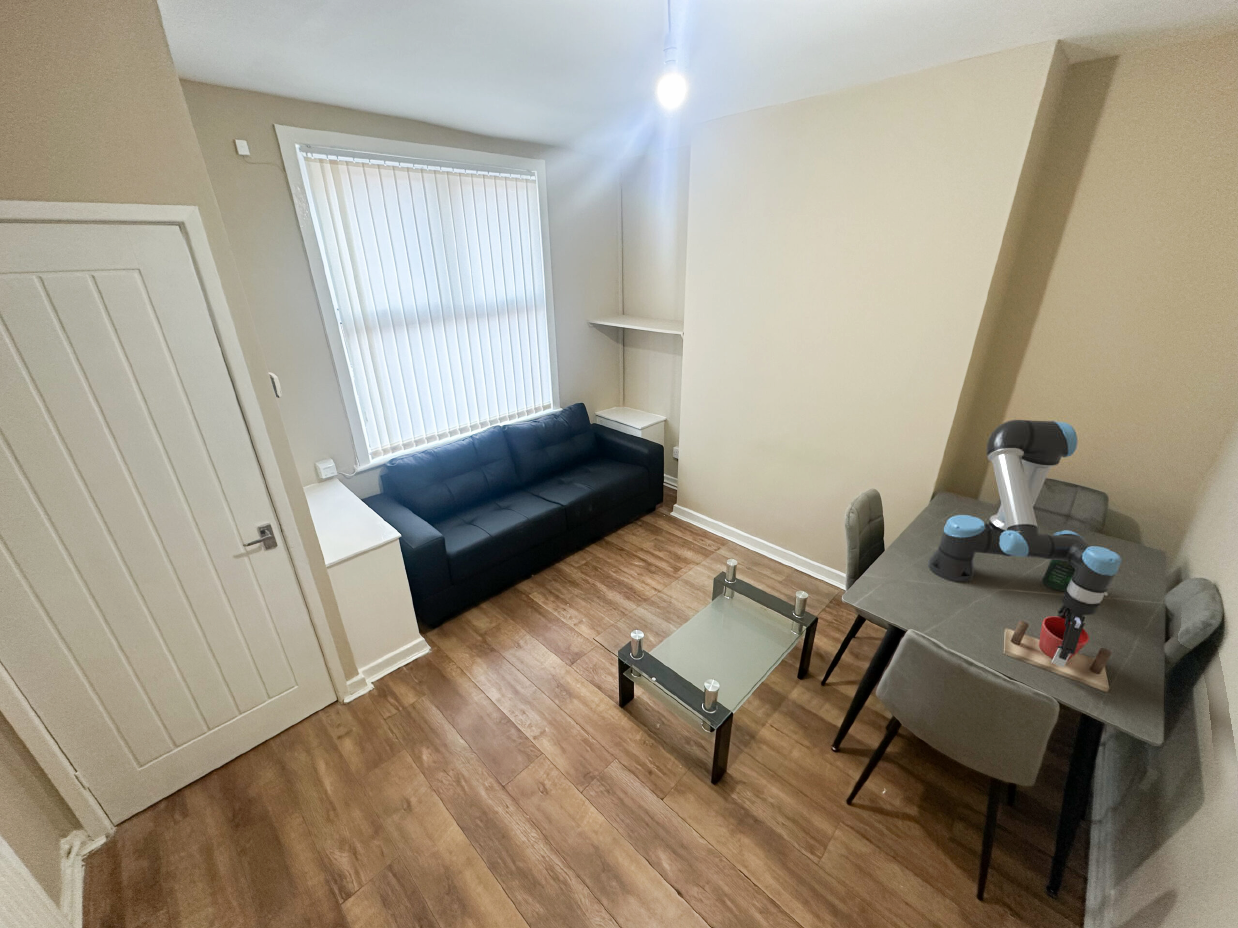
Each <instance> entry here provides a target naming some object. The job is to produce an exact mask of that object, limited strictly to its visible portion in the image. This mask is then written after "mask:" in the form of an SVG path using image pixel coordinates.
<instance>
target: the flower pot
mask: <svg viewBox="0 0 1238 928" xmlns="http://www.w3.org/2000/svg"><path fill="white" fill-rule="evenodd" d="M1057 616H1058V615H1056V616H1053V615H1052V616H1047V617H1045V618H1044V619H1043V620H1042V624H1041V630H1040V634H1039V647H1040V649H1041V651H1043V652H1044V653H1045V654H1046V655H1047V656H1049V657H1051V658H1054V656H1055V654H1056V652H1057V650H1058V647H1057V646H1061V645H1062V641H1063V637H1064V633H1065V629H1066V626H1065V625H1064V623H1065V619H1064V618H1061V617H1057ZM1068 624H1070V623H1068ZM1089 641H1090V636H1089V633H1088V631H1086V630H1085V628H1083V629H1082V631H1081V634H1080V638H1079V641H1078V644H1077V647H1076V650H1075V654H1076V653H1079V652H1080V651H1081V650H1082V649H1083V648H1084V647H1085V646H1086V645H1087V644H1088V643H1089ZM1075 654H1074V655H1075ZM1074 655H1073V654H1070V656H1069V658H1068V660H1069V659H1071V658H1072V657H1073V656H1074Z"/></svg>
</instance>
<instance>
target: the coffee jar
mask: <svg viewBox="0 0 1238 928" xmlns="http://www.w3.org/2000/svg"><path fill="white" fill-rule="evenodd" d="M1074 573H1075V568H1073V567H1072V566H1071V565H1070V564H1069V563H1068V562H1067V561H1062V560H1053V559H1050V562H1049V564H1048V566H1047V568H1046V570H1045V572H1044V575H1043V577H1042V579H1041V583H1042V584H1043V585H1045V586H1047V587H1048V588H1049V589H1052V590H1056V591H1059V592H1066V591H1067V587H1068V585H1069V583H1070V581H1071V579H1072V577H1073V575H1074Z"/></svg>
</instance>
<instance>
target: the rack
mask: <svg viewBox="0 0 1238 928" xmlns="http://www.w3.org/2000/svg"><path fill="white" fill-rule="evenodd" d="M1028 628H1029V623H1027V622H1026V621H1024V620H1019V621H1018V623H1017V625H1016V628H1015V630H1013V629H1010V628H1007V627H1005V629H1004V636H1003V637H1004V638H1003V639H1004V640H1003V641H1004V642H1003V654H1004V655H1005V656H1008V657H1011V658H1014V659H1016V660H1018V661H1022V662H1025V663H1027V664H1029V665H1033V666H1035V667H1038V668H1041V669H1044V670H1047V671H1049V672H1052V673H1053V674H1054V673H1055V674H1056V675H1060V676H1062V677H1065V678H1067V679H1070V680H1073V681H1076V682H1079V683H1082V684H1084V685H1087V686H1089V687H1091V688H1093V689H1094V688H1095V689H1098V690H1100V691H1102V692H1106V693H1108V692H1109V689H1110V685H1109V681H1108V676H1107V671H1106V664H1107V662H1108V661H1109V660H1110V659H1109V658H1110V657H1111V656H1112V654H1113V653H1112V651H1111V650H1109V649H1108V648H1104V647H1101V648H1099V650H1098V652H1097V654H1096V655H1095V658H1094V657H1090V656H1088V655H1085V654H1082V653H1079V652H1077V653H1076V654H1075V655H1074V656H1073V657H1072V658H1071V659H1069V660H1067V662H1066V664H1065V666H1064V667H1061V666H1059V665H1056V664H1053V663H1052V660H1053V658H1051V657H1049V656H1047V655H1046V654H1045V653H1044V652H1043V651H1041V649H1040V647H1039V640H1040V638H1036V637H1034V636H1031V635H1028V634H1026V632H1027V630H1028Z"/></svg>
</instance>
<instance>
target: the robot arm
mask: <svg viewBox="0 0 1238 928" xmlns="http://www.w3.org/2000/svg"><path fill="white" fill-rule="evenodd" d="M1077 448H1078V436H1077V432H1076V429H1075V428H1074V427H1073V425H1071V424H1069V423H1067V422H1064V421H1055V420H1030V419H1028V420H1026V419H1013V420H1008V421H1005V422H1003V423H1001V424H1000V425H998V426H997V427H996V428H995V429H994V430H993V431H992V432H991V434H990V435H989V437H988V439H987V443H986V449H985V450H986V455H987V456H986V457H987V459H988V460H989V461H990V462H991V463H992V467H993V471H994V476H995V480H996V484H997V490H998V495H999V499H1000V506H999V509H998V511H997V513H995V514H994V515H991V516H990V517H989V520H988V522H984V521H983V520H982V519H981V518H979V517H977V516H972V515H967V514H958V515H953V516H951V517H950V518H948V519H947V520H946V523H945V525H944V526H943V532H942V536H941V538H940V542H939V545H938V547H937V549H936V550H935V552H933V554H932V555H931V556H930V557H929V560H928V563H927V566H928V568H929V569H930V571H931V572H932V573H933V574H935V575H937V576H939V577H940V578H943V579H946V580H948V581H953V582H959V583H965V582H969V581H971V580H972V579H973V578H974V574H975V565H974V557H975V555H976V553H977V554H979V553H980V554H988V555H997V556H998V555H999V556H1003V557H1021V558H1024V557H1025V558H1033V559H1034V558H1037V559H1044V560H1051V559H1053V560H1062V561H1067V562H1068V563H1069V564H1070V565H1071V566H1072V567H1073V568H1075V573H1074V575H1073V577H1072V579H1071V581H1070V583H1069V585H1068V587H1067V590H1066V591H1064V594H1063V596H1062V599H1061V602H1062V604H1063V605H1062V606H1060V608H1059V609H1058V610H1057V615H1056V616H1057V617H1061V618H1064V619H1065V623H1064V625H1065V626H1066V629H1065V633H1064V637H1063V641H1062V645H1061V646H1057V647H1058V650H1057V652H1056V654H1055V656H1054V658H1053V660H1052V663H1053V664H1056V665H1059V666H1061V667H1064V666H1065V664H1066V662H1067V660H1068V658H1069V656H1070V654H1073V655H1074V654H1075V650H1076V647H1077V644H1078V641H1079V638H1080V634H1081V631H1082V629H1084V627H1085V625H1086V624H1085V618H1086V617H1085V616H1089V615H1090V616H1091V615H1094V614H1096V613H1097V611H1098V609H1099V608H1100V605H1101V602H1102V601H1103V599H1104V596H1106V597H1107V596H1108V590H1109V587H1110V586H1111V583H1112V582H1113V580H1114V578H1115V577H1116V575H1117V573H1119V568H1120V566H1121V563H1122V558H1121V556H1120V555H1119V554H1118V553H1116V552H1115V551H1112V550H1111V549H1109V548H1106V547H1102V546H1093V545H1091V544H1090V543H1089V542H1088V541H1087V540H1086V539H1085V538H1084V537H1082V536H1081V535H1079V534H1078V533H1076V532H1075V531H1073V530H1068V529H1066V530H1063V529H1062V530H1061V531H1056V532H1054V533H1053V534H1050V533H1048V534H1047V533H1040V531H1039V527H1038V522H1037V519H1036V518H1037V517H1036V514H1035V510H1034V506H1035V503H1036V501H1037V498H1038V497H1039V494H1040V492H1041V490H1042V488H1043V485H1044V483H1045V481H1046V478H1047V476H1048V475H1049V472H1050V470H1051V468H1053V467H1056V466H1058V465H1059V463H1060V461H1061V459H1062V458H1067V457H1070V456H1072V455H1074V453H1075V452H1076V450H1077ZM1068 623H1070V624H1068Z"/></svg>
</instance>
